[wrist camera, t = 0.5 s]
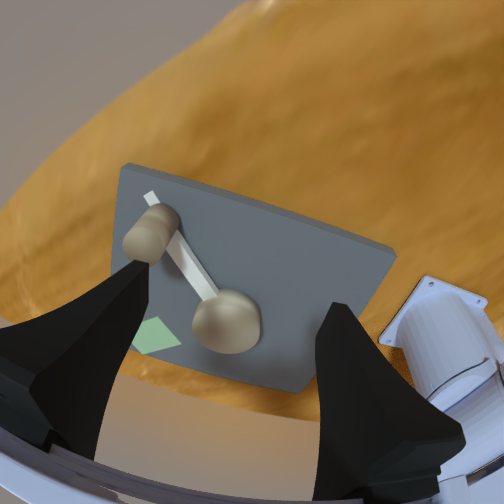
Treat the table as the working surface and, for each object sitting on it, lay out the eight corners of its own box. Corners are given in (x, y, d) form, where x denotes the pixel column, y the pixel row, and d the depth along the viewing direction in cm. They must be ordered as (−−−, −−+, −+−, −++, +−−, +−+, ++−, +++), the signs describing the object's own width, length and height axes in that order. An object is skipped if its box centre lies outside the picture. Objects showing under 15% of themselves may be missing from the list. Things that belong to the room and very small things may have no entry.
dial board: (392, 248, 22) (397, 257, 21) (299, 385, 31) (299, 394, 30) (128, 162, 20) (120, 167, 19) (115, 334, 29) (110, 342, 28)
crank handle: (271, 325, 24) (270, 363, 21) (218, 341, 26) (211, 377, 22) (183, 187, 19) (163, 212, 15) (125, 220, 20) (100, 248, 17)
